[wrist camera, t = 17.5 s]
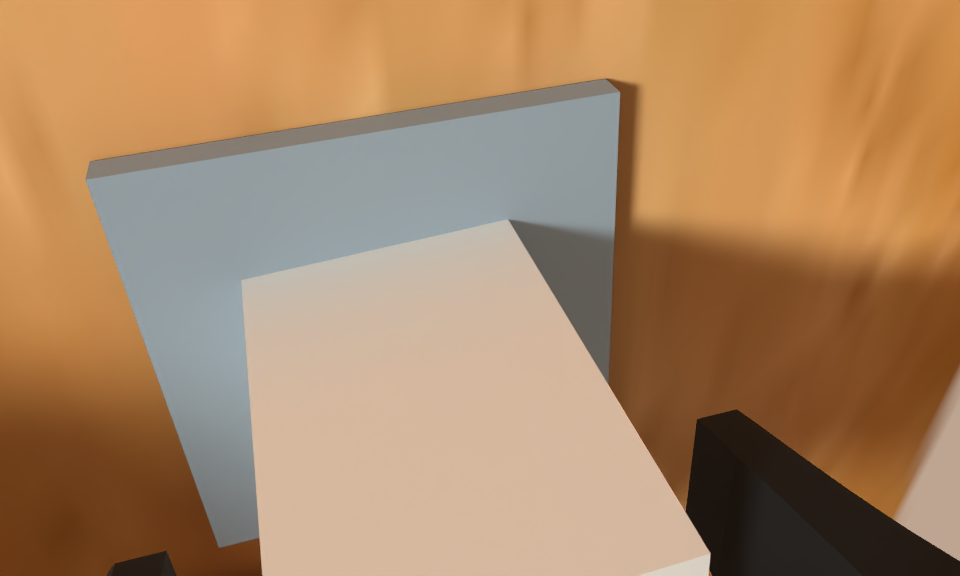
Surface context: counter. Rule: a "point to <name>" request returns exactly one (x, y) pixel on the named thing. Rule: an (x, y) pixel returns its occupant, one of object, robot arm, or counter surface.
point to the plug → (445, 424)
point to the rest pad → (345, 236)
